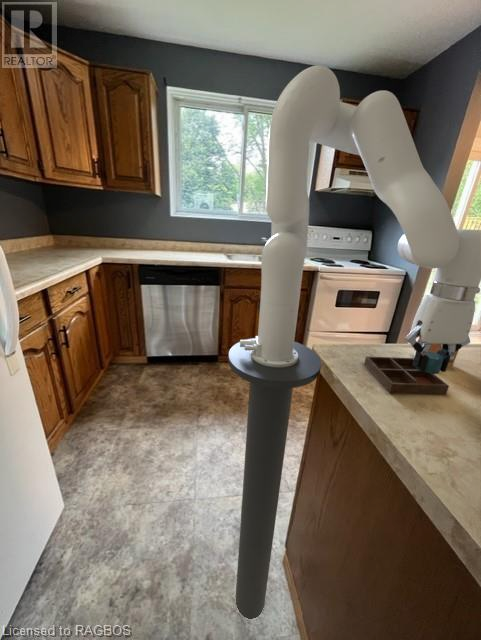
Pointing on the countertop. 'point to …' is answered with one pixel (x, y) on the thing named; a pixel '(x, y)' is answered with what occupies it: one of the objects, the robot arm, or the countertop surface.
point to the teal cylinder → (433, 363)
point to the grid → (404, 376)
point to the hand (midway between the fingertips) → (428, 367)
